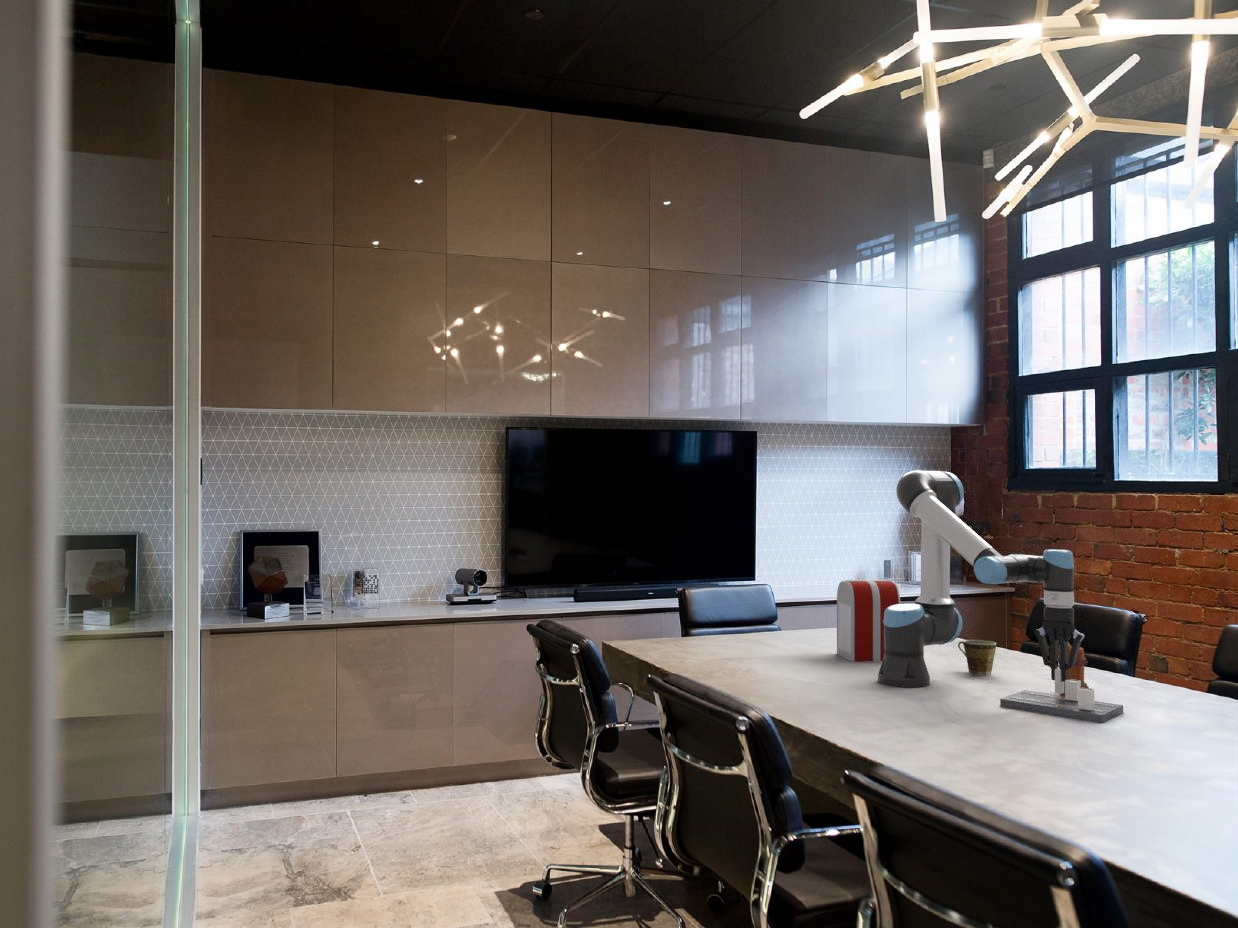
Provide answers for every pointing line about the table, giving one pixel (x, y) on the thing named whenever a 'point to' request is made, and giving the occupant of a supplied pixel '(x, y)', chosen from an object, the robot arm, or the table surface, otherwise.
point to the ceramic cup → (979, 656)
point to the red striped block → (863, 618)
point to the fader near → (1085, 698)
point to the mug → (1076, 667)
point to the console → (1060, 706)
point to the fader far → (1072, 689)
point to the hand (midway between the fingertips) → (1059, 692)
